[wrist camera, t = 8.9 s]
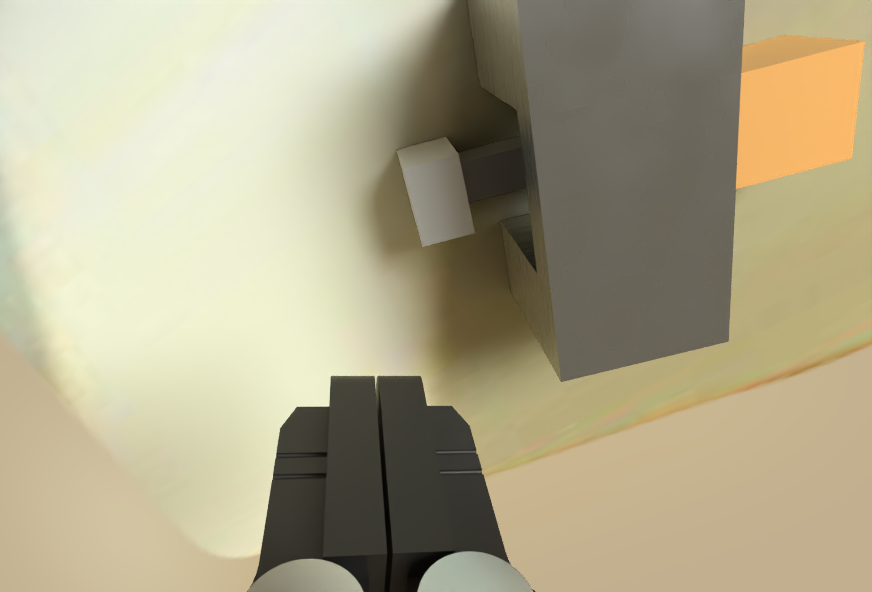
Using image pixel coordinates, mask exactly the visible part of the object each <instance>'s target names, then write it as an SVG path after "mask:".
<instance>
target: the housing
mask: <svg viewBox="0 0 872 592" xmlns="http://www.w3.org/2000/svg"><path fill="white" fill-rule="evenodd" d="M467 4H468V11H469V17H470V24H471V30H472V37H473V43H474V50H475V57H476V63H477V70H478V76H479V83H480V87H482V88H484V89H485V90H487V91H488V92H490V93H491V94H493V95H495V96H496V97H498V98H499V99H501V100H502V101H504V102H505V103H507V104H509V105H510V106H512V107H513V108H515V109H516V110H517V116H518V124H519V132H520V140H521V148H522V156H523V164H524V172H525V180H526V188H527V196H528V203H529V211H530V214H527V215H522V216H518V217H514V218H509V219H505V220H501V221H500V222H501V228H502V235H503V241H504V248H505V254H506V261H507V268H508V274H509V281H510V287H511V293H512V295H513V297H514V298H515V300H516V302H517V304H518V306H519V307H520V309H521V311H522V313H523V315H524V316H525V318H526V320H527V322H528V323H529V325H530V327H531V329H532V331H533V332H534V334H535V336H536V338H537V340H538V341H539V343H540V345H541V347H542V349H543V350H544V352H545V354H546V356H547V358H548V359H549V361H550V363H551V365H552V367H553V368H554V370H555V372H556V374H557V376H558V377H559V379H560V381H561V382H563V381H567V380H571V379H576V378H580V377H584V376H588V375H592V374H596V373H600V372H604V371H609V370H613V369H617V368H621V367H625V366H629V365H633V364H638V363H642V362H646V361H650V360H654V359H658V358H662V357H666V356H671V355H675V354H679V353H683V352H687V351H691V350H695V349H700V348H704V347H708V346H712V345H716V344H720V343H724V342H728V340H729V320H730V299H731V278H732V257H733V237H734V216H735V195H736V174H737V153H738V133H739V112H740V91H741V70H742V49H743V29H744V8H745V0H467Z"/></svg>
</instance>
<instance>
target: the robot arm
mask: <svg viewBox="0 0 872 592" xmlns="http://www.w3.org/2000/svg"><path fill="white" fill-rule="evenodd" d="M247 592H535V591H534V590H533V589H532V588H531V586H530V585H529V583H528V582H527V580H526V579H525V578H524V577H523V575H522V574H521V573H520V572H519V571H518V570H517V569H515V568H514V567H513V566H512V565H511V564H510V562H509V560H508V557H507V555H506V552H505V549H504V545H503V542H502V538H501V535H500V531H499V528H498V524H497V521H496V517H495V514H494V510H493V507H492V503H491V500H490V496H489V493H488V489H487V486H486V482H485V479H484V475H483V474H482V468H481V465H480V461H479V458H478V454H476V447H475V444H474V440H473V437H472V433H471V429H470V426H469V425H468V424H467V423H466V421H465V420H464V419H463V418H462V417H461V416H460V415H459V414H458V413H457V411H456V410H455V409H454V408H453V407H452V406H427V404H426V399H425V393H424V388H423V383H422V379H421V377H420V376H378V377H377V384H376V389H375V377H374V376H331V385H330V407H297V408H296V409H295V410H294V412H293V413H292V414H291V415H290V417H289V418H288V419H287V420H286V422H285V423H284V424H283V425H282V427H281V428H280V434H279V440H278V447H277V453H276V459H275V466H274V472H273V480H272V485H271V491H270V497H269V504H268V510H267V517H266V523H265V529H264V536H263V542H262V548H261V555H260V561H259V566H258V570H257V574H256V576H255V578H254V581H253V583H252V585H251V586H250V588H249V590H248V591H247Z"/></svg>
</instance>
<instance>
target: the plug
mask: <svg viewBox="0 0 872 592" xmlns="http://www.w3.org/2000/svg"><path fill="white" fill-rule="evenodd" d="M864 46H865V41H858V40H844V39H831V38H817V37H803V36H790V35H784V36H780V37H776V38H772V39H768V40H764V41H761V42H757V43H753V44H749V45H745V46H743V49H742V70H741V91H740V112H739V133H738V153H737V174H736V189H738V188H742V187H745V186H749V185H753V184H757V183H761V182H764V181H768V180H772V179H776V178H780V177H783V176H787V175H791V174H795V173H799V172H802V171H806V170H810V169H814V168H817V167H821V166H825V165H829V164H833V163H836V162H840V161H844V160H848V159H852V152H853V143H854V135H855V126H856V117H857V108H858V99H859V90H860V81H861V72H862V63H863V55H864ZM397 154H398V158H399V161H400V165H401V169H402V173H403V177H404V181H405V185H406V189H407V192H408V196H409V200H410V204H411V208H412V212H413V216H414V220H415V223H416V226H417V230H418V233H419V236H420V240H421V243H422V246H423V247H425V246H429V245H432V244H436V243H440V242H444V241H448V240H451V239H455V238H459V237H463V236H467V235H470V234H474V233H475V231H474V226H473V221H472V216H471V211H470V207H469V203H471V202H475V201H478V200H482V199H486V198H490V197H494V196H497V195H501V194H505V193H509V192H513V191H516V190H520V189H524V188H526V180H525V172H524V164H523V156H522V148H521V140H520V136H517V137H514V138H510V139H506V140H502V141H498V142H494V143H491V144H487V145H483V146H479V147H475V148H471V149H468V150H464V151H460V152H457V151H456V150H455V149H454V147H453V146H452V144H451V143H450V142H449V140H448V139H447V138H446V137H443V138H439V139H436V140H432V141H428V142H424V143H420V144H416V145H413V146H409V147H405V148H401V149H397Z"/></svg>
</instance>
